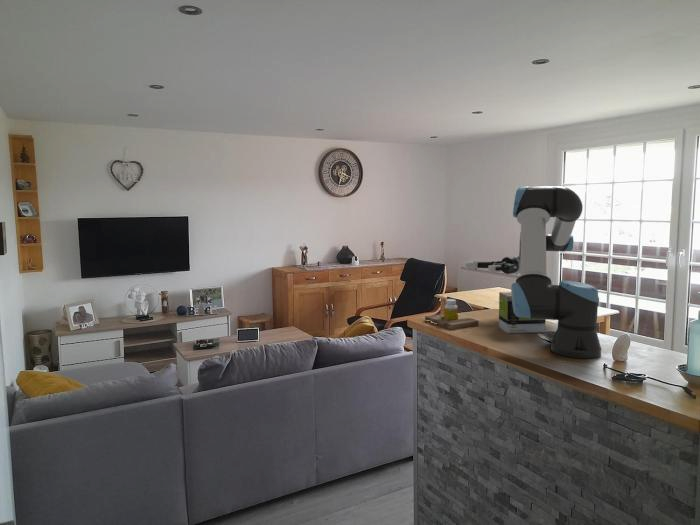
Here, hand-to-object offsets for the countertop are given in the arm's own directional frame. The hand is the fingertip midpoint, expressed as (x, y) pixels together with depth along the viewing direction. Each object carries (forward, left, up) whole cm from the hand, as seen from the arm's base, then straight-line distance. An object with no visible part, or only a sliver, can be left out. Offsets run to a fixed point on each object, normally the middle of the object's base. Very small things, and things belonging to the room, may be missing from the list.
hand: (476, 267), depth 206 cm
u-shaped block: (0, +13, -22) cm, 26 cm away
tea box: (-22, -3, -23) cm, 32 cm away
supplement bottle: (+1, +13, -23) cm, 26 cm away
